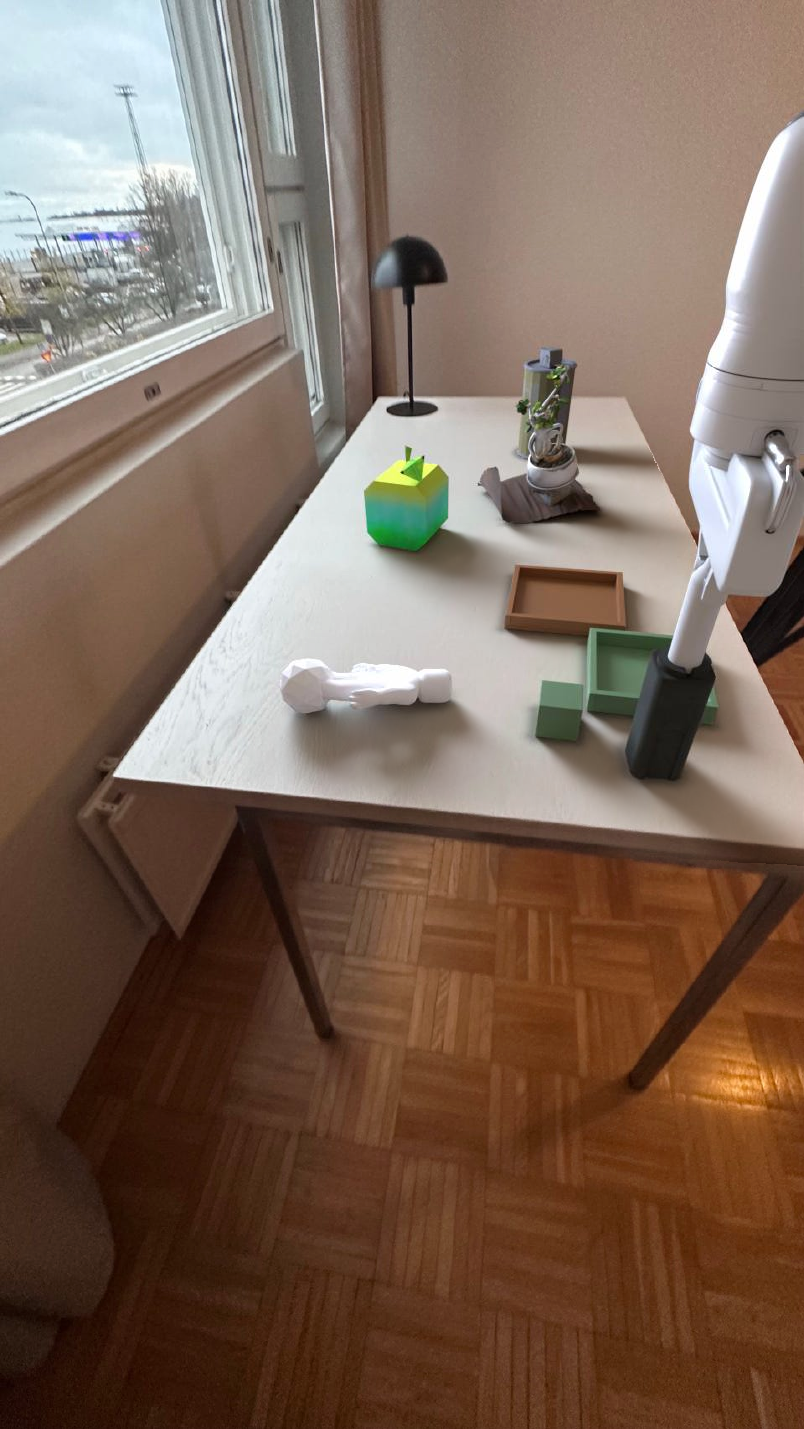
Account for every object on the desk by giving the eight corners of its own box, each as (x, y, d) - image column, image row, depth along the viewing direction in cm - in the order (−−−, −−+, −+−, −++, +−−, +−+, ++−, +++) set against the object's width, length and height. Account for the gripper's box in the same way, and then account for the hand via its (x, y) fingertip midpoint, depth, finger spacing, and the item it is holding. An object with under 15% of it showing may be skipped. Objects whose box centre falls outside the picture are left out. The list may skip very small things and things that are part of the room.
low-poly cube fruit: (368, 542, 108) (361, 452, 98) (392, 519, 114) (387, 433, 104) (426, 552, 104) (425, 460, 94) (448, 528, 111) (449, 439, 101)
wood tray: (619, 584, 94) (622, 572, 92) (623, 639, 83) (626, 626, 82) (514, 576, 97) (515, 564, 95) (504, 628, 86) (505, 615, 85)
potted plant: (607, 527, 114) (608, 393, 94) (507, 562, 115) (487, 436, 96) (567, 470, 126) (560, 341, 107) (477, 502, 128) (454, 380, 108)
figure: (273, 730, 69) (455, 730, 70) (270, 673, 66) (459, 674, 68) (286, 695, 79) (444, 695, 81) (283, 645, 77) (446, 646, 78)
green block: (577, 715, 72) (583, 684, 69) (576, 741, 69) (582, 710, 66) (537, 710, 73) (541, 679, 70) (534, 736, 70) (539, 705, 67)
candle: (671, 746, 68) (746, 525, 51) (683, 781, 64) (767, 554, 48) (623, 744, 68) (681, 524, 52) (631, 778, 64) (696, 553, 48)
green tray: (697, 654, 80) (703, 637, 78) (712, 725, 70) (718, 707, 68) (587, 644, 83) (590, 627, 81) (586, 710, 73) (589, 693, 71)
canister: (507, 450, 140) (515, 347, 126) (547, 441, 143) (558, 341, 130) (535, 465, 132) (546, 357, 119) (576, 456, 135) (591, 350, 122)
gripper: (860, 466, 35) (774, 665, 44) (781, 375, 50) (729, 537, 59) (739, 462, 37) (679, 656, 46) (697, 374, 52) (658, 533, 61)
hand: (707, 588), depth 53 cm, fingers closed on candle, 3 cm apart
